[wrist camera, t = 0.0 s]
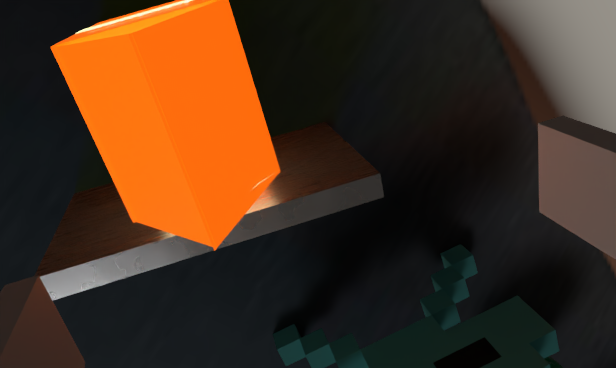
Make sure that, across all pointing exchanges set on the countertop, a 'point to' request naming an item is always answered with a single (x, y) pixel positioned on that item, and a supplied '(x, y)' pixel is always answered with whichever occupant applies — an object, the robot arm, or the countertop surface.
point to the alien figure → (439, 333)
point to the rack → (171, 248)
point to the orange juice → (174, 115)
